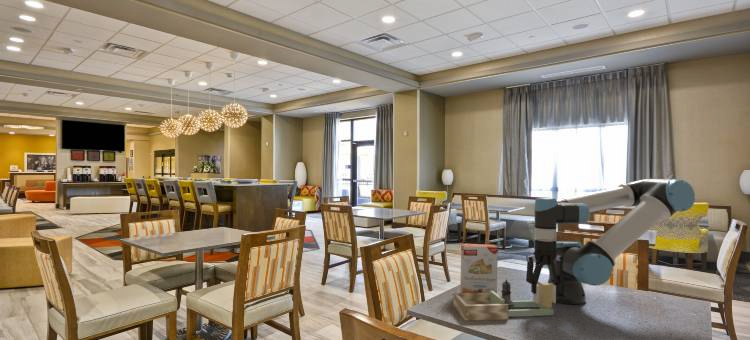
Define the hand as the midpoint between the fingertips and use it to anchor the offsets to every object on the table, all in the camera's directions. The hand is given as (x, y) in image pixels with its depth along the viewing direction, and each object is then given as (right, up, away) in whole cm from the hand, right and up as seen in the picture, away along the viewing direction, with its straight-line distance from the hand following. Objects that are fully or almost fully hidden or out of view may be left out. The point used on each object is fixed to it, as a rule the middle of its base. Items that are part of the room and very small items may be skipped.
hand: (544, 301), depth 145 cm
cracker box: (-20, -3, +17) cm, 26 cm away
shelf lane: (-25, -3, -3) cm, 25 cm away
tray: (-9, -3, -1) cm, 9 cm away
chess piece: (-15, -3, -1) cm, 15 cm away
